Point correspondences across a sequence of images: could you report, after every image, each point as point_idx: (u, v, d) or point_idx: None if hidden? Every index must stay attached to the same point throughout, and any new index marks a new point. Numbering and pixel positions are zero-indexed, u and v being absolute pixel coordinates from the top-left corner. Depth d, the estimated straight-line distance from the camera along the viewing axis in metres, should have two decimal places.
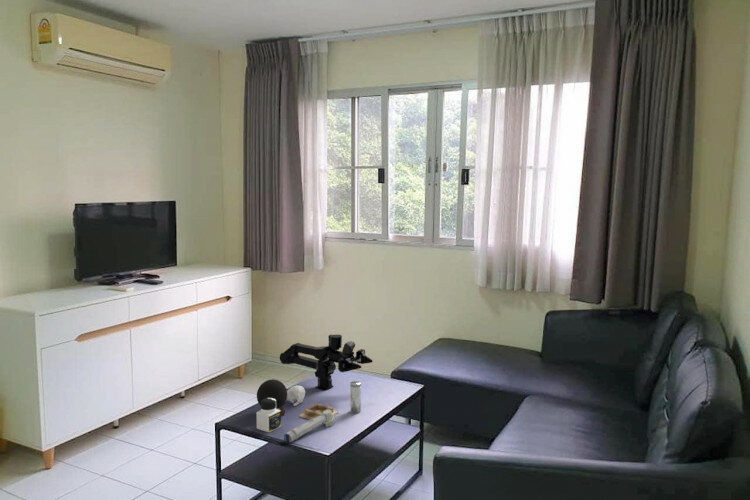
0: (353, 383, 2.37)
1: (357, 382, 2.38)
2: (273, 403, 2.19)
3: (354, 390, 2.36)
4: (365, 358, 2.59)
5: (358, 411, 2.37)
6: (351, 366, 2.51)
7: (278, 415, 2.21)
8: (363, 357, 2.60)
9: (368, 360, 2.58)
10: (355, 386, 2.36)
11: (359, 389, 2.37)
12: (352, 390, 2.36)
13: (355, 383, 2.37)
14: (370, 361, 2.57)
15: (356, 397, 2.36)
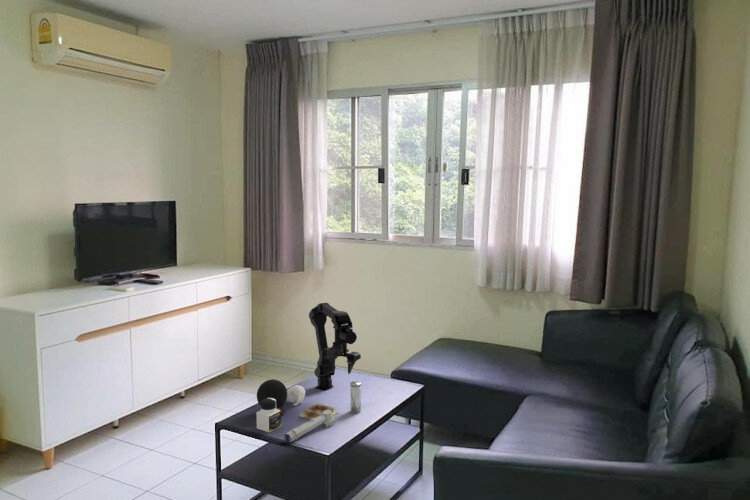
0: (353, 383, 2.37)
1: (357, 382, 2.38)
2: (273, 403, 2.19)
3: (354, 390, 2.36)
4: None
5: (358, 411, 2.37)
6: None
7: (278, 415, 2.21)
8: None
9: None
10: (355, 386, 2.36)
11: (359, 389, 2.37)
12: (352, 390, 2.36)
13: (355, 383, 2.37)
14: None
15: (356, 397, 2.36)
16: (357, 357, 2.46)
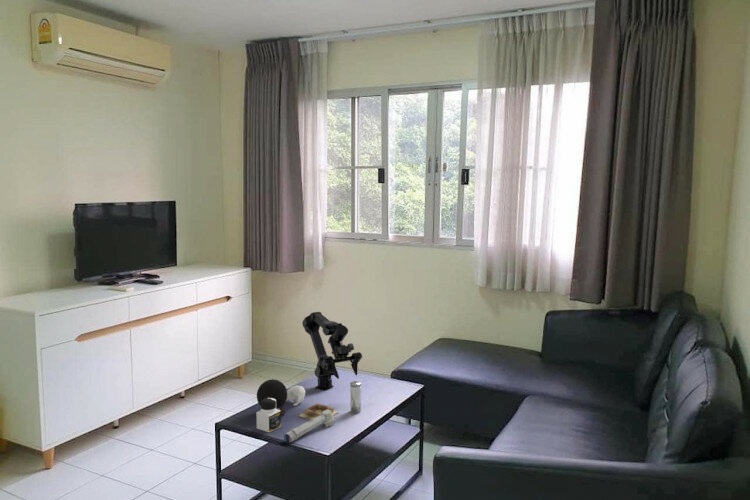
0: (353, 383, 2.37)
1: (357, 382, 2.38)
2: (273, 403, 2.19)
3: (354, 390, 2.36)
4: (354, 366, 2.49)
5: (358, 411, 2.37)
6: (332, 370, 2.45)
7: (278, 415, 2.21)
8: (354, 363, 2.50)
9: (355, 371, 2.48)
10: (355, 386, 2.36)
11: (359, 389, 2.37)
12: (352, 390, 2.36)
13: (355, 383, 2.37)
14: (355, 373, 2.48)
15: (356, 397, 2.36)
16: None
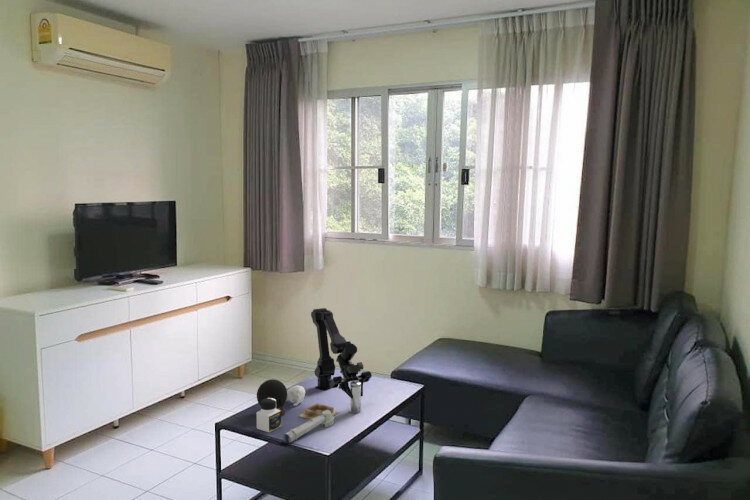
0: (353, 383, 2.37)
1: (357, 382, 2.38)
2: (273, 403, 2.19)
3: (354, 390, 2.36)
4: None
5: (358, 411, 2.37)
6: (346, 389, 2.38)
7: (278, 415, 2.21)
8: None
9: None
10: (355, 385, 2.36)
11: (359, 389, 2.37)
12: (352, 390, 2.36)
13: (355, 383, 2.37)
14: None
15: (356, 397, 2.36)
16: None
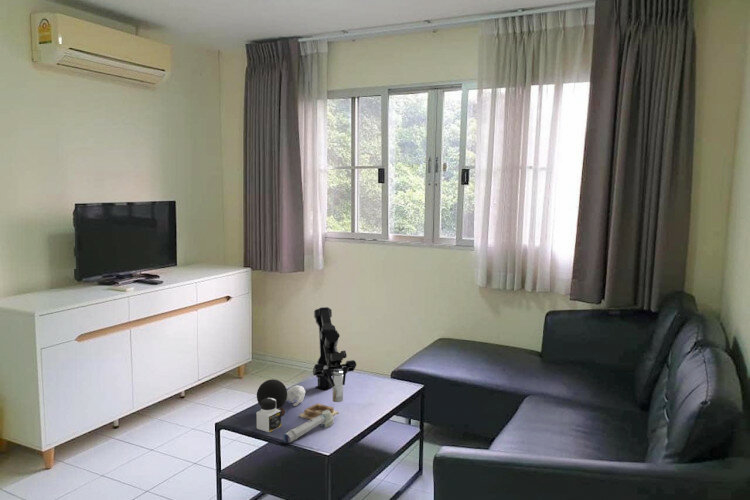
0: (335, 371, 2.34)
1: (339, 370, 2.35)
2: (273, 403, 2.19)
3: (335, 378, 2.32)
4: None
5: (339, 400, 2.34)
6: (328, 377, 2.35)
7: (278, 415, 2.21)
8: None
9: None
10: (336, 374, 2.32)
11: (341, 378, 2.33)
12: (333, 378, 2.33)
13: (337, 371, 2.34)
14: (343, 383, 2.35)
15: (337, 385, 2.33)
16: None
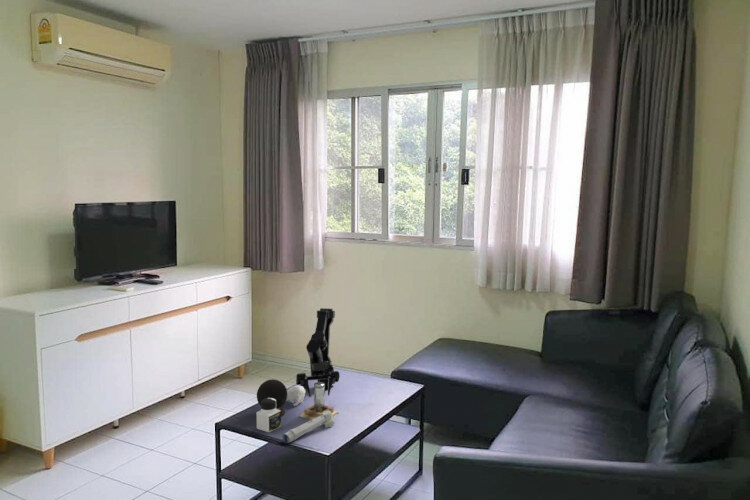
0: (316, 384, 2.34)
1: (321, 383, 2.34)
2: (273, 403, 2.19)
3: (316, 391, 2.32)
4: (328, 386, 2.36)
5: None
6: (306, 387, 2.35)
7: (278, 415, 2.21)
8: (328, 383, 2.36)
9: (328, 390, 2.35)
10: (317, 386, 2.32)
11: (321, 390, 2.32)
12: (314, 391, 2.33)
13: (318, 384, 2.33)
14: (328, 393, 2.34)
15: (318, 398, 2.32)
16: None
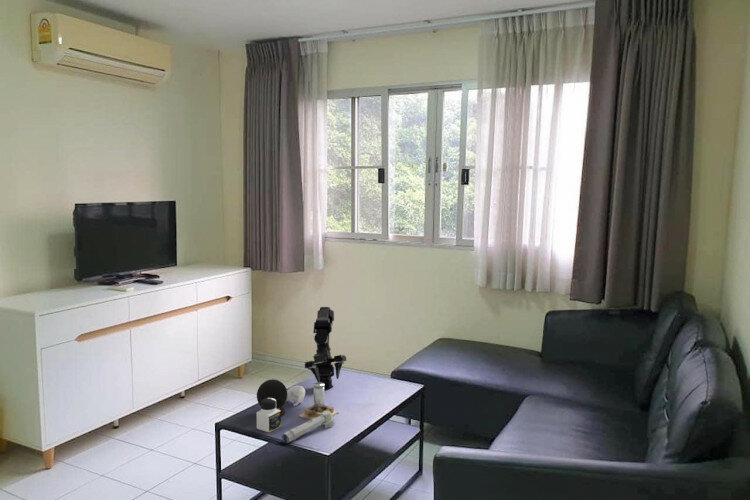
0: (316, 384, 2.33)
1: (321, 383, 2.34)
2: (273, 403, 2.19)
3: (316, 391, 2.32)
4: None
5: None
6: None
7: (278, 415, 2.21)
8: None
9: None
10: (316, 387, 2.32)
11: (321, 391, 2.32)
12: (314, 391, 2.33)
13: (318, 384, 2.33)
14: None
15: (318, 398, 2.32)
16: (344, 358, 2.46)
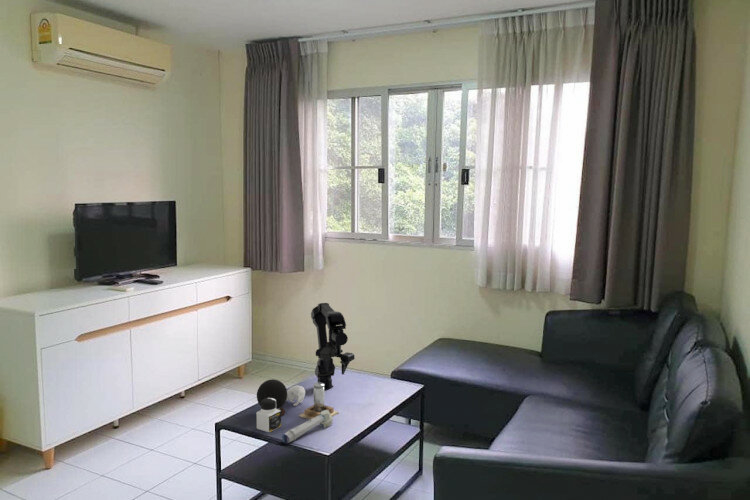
0: (316, 384, 2.33)
1: (321, 383, 2.34)
2: (273, 403, 2.19)
3: (316, 391, 2.32)
4: None
5: None
6: None
7: (278, 415, 2.21)
8: None
9: None
10: (316, 387, 2.32)
11: (321, 391, 2.32)
12: (314, 391, 2.33)
13: (318, 384, 2.33)
14: None
15: (318, 398, 2.32)
16: (351, 358, 2.46)
